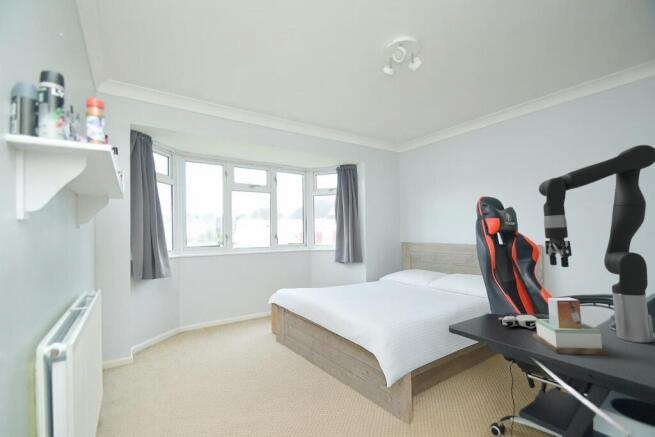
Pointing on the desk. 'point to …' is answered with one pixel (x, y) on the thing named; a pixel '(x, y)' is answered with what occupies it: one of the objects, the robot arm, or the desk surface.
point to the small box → (564, 313)
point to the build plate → (571, 350)
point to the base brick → (569, 335)
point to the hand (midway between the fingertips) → (559, 266)
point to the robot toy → (519, 321)
